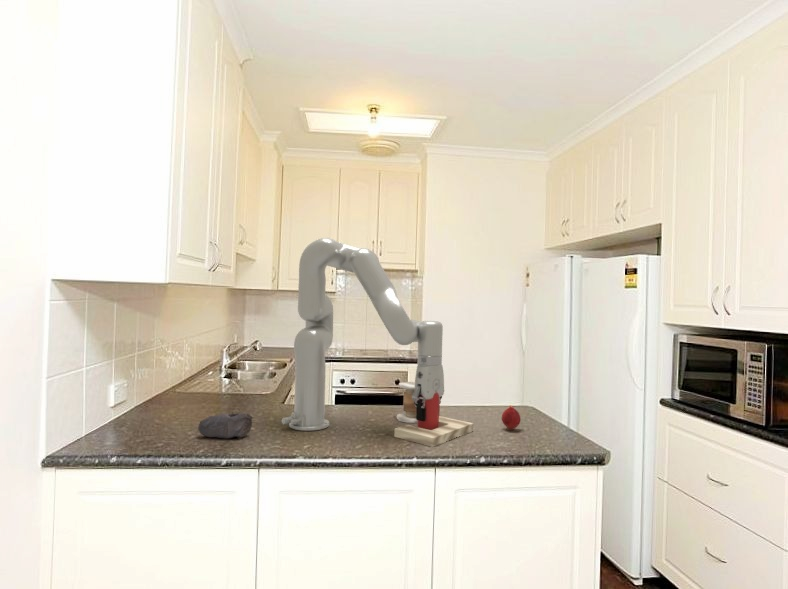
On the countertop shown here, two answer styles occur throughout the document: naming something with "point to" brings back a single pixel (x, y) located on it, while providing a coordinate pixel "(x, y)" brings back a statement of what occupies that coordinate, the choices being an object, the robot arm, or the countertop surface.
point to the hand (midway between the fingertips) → (427, 417)
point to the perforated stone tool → (226, 425)
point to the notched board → (434, 432)
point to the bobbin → (408, 403)
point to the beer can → (431, 413)
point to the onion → (511, 418)
